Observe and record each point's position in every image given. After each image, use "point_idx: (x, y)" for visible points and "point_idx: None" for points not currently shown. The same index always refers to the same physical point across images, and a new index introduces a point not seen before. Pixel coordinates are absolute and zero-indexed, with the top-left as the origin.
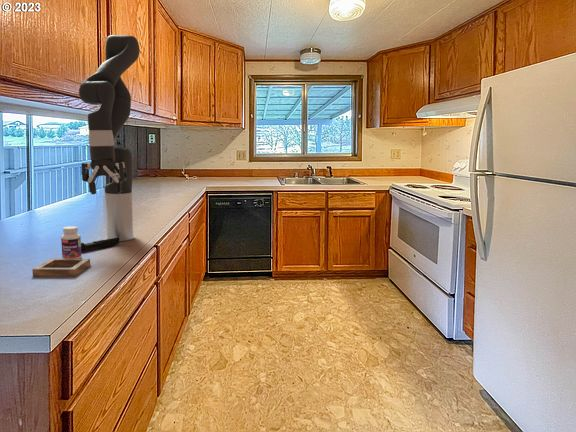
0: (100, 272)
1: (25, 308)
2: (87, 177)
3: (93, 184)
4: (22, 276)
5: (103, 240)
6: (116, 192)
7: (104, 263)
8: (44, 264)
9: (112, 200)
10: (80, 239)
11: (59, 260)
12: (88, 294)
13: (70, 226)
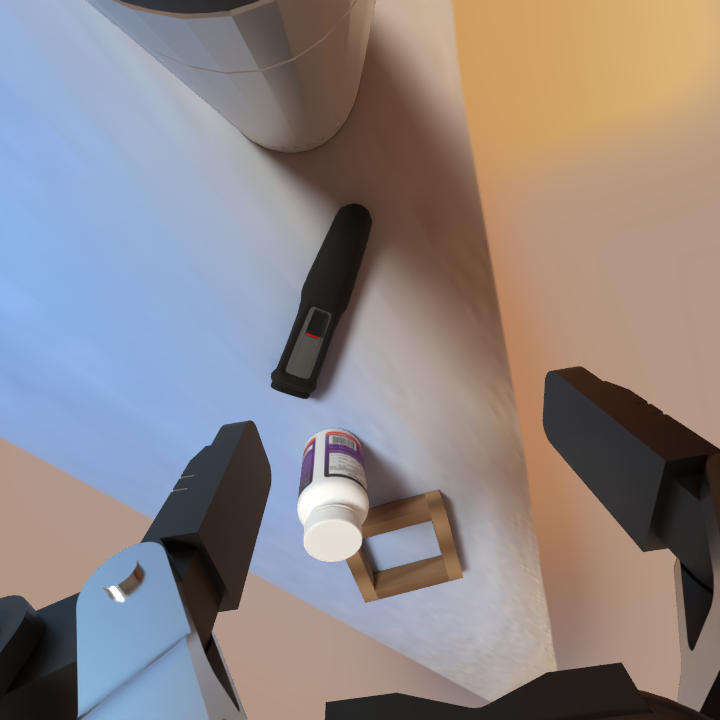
0: (498, 522)
1: (477, 670)
2: (7, 712)
3: (231, 561)
4: (341, 590)
5: (334, 297)
6: (559, 446)
7: (465, 462)
8: (362, 573)
9: (243, 61)
10: (364, 485)
11: (367, 536)
12: (543, 614)
13: (317, 529)
